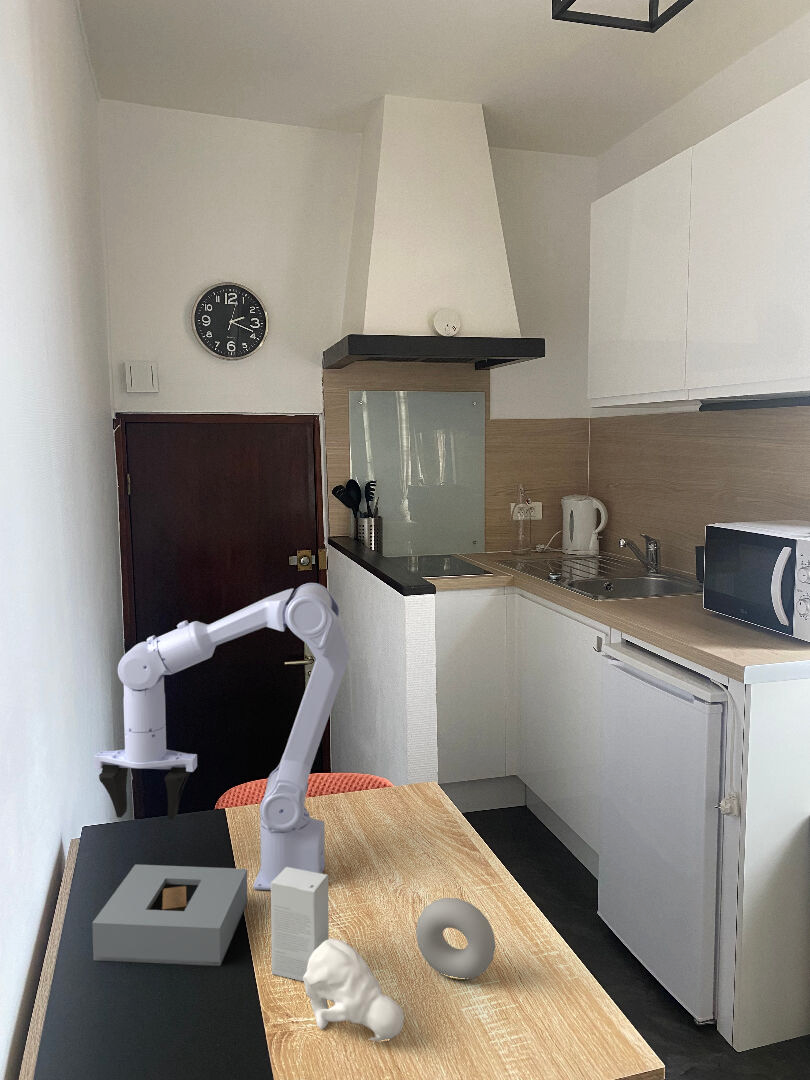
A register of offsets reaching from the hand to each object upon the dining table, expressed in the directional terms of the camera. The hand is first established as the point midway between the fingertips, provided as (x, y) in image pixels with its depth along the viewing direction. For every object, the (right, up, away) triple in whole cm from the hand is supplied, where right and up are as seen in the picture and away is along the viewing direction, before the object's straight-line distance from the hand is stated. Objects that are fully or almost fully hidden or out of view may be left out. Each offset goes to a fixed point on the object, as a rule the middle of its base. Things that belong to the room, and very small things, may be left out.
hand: (147, 815), depth 118 cm
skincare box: (+25, -13, -19) cm, 34 cm away
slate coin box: (+7, -11, -11) cm, 17 cm away
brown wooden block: (+7, -11, -11) cm, 17 cm away
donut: (+44, -13, -20) cm, 50 cm away
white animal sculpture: (+33, -14, -28) cm, 45 cm away
